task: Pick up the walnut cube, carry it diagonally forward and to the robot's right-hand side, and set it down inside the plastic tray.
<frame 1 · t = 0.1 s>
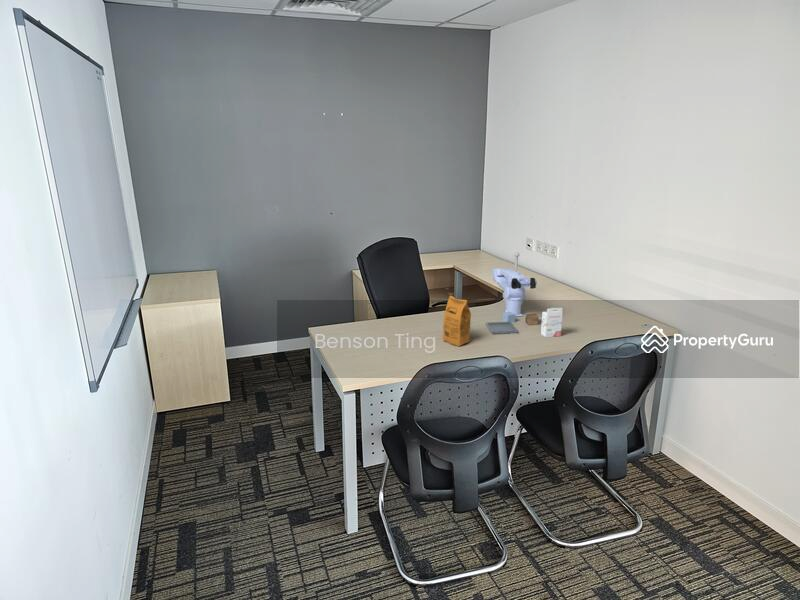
hand: (527, 286, 263), 22 cm above the table, tool horizontal, fingers open, 7 cm apart
flag stand: (513, 302, 309), on the table
walnut cube: (531, 323, 274), on the table
tray: (501, 329, 266), on the table
coffee package: (455, 341, 251), on the table
ink cartridge box: (550, 335, 259), on the table
slate blue block: (508, 321, 277), on the table
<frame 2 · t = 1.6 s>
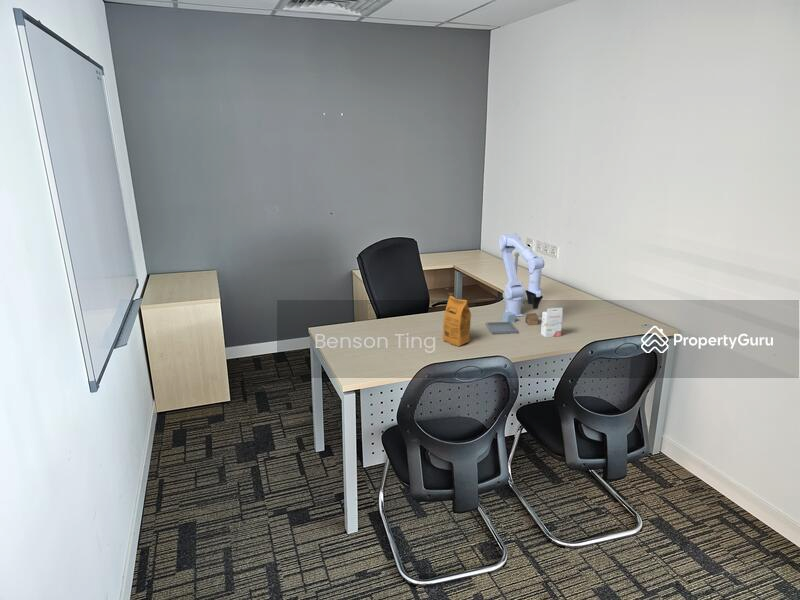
hand: (532, 306, 271), 9 cm above the table, tool pointing down, fingers open, 7 cm apart
nothing on the table moved.
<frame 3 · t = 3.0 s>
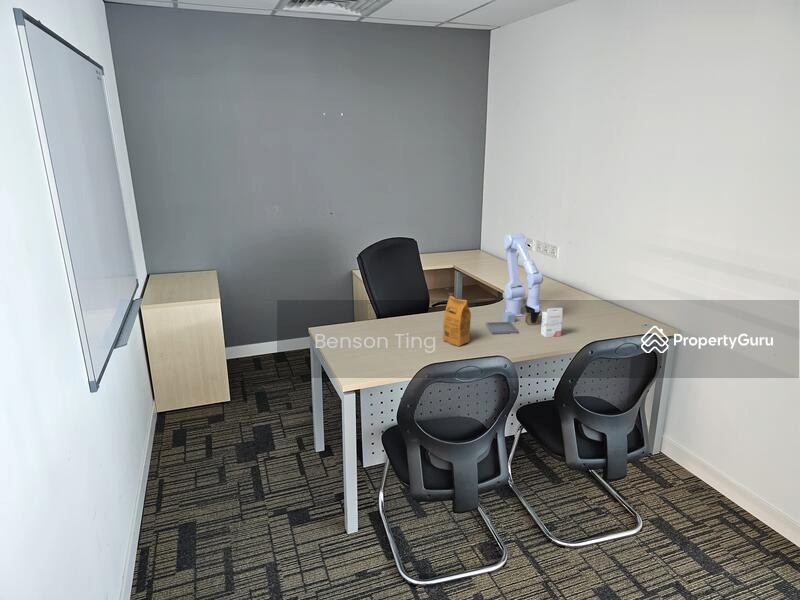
hand: (531, 320, 274), 1 cm above the table, tool pointing down, fingers closed on walnut cube, 5 cm apart
walnut cube: (531, 323, 274), on the table, touching gripper
everything else where it was.
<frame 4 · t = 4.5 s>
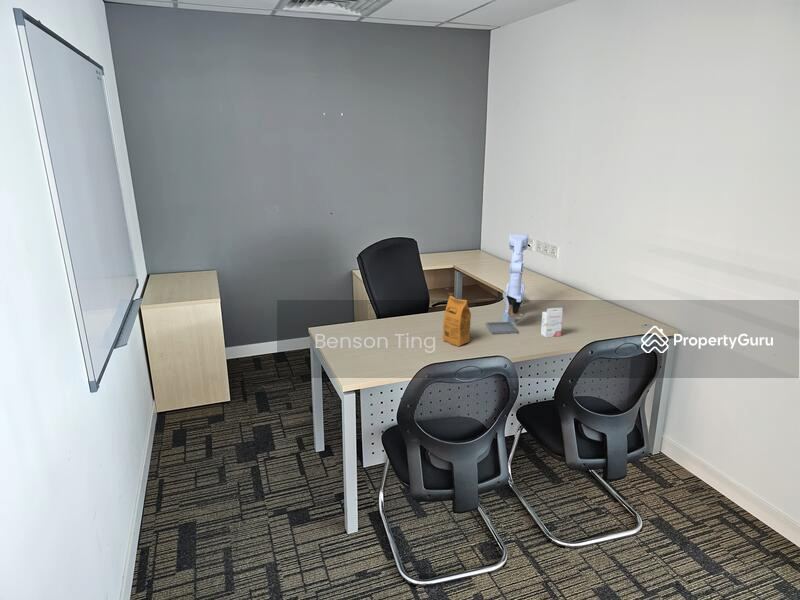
hand: (513, 311, 266), 9 cm above the table, tool pointing down, fingers closed on walnut cube, 5 cm apart
walnut cube: (514, 315, 267), point 6 cm above the table, touching gripper
everything else where it was.
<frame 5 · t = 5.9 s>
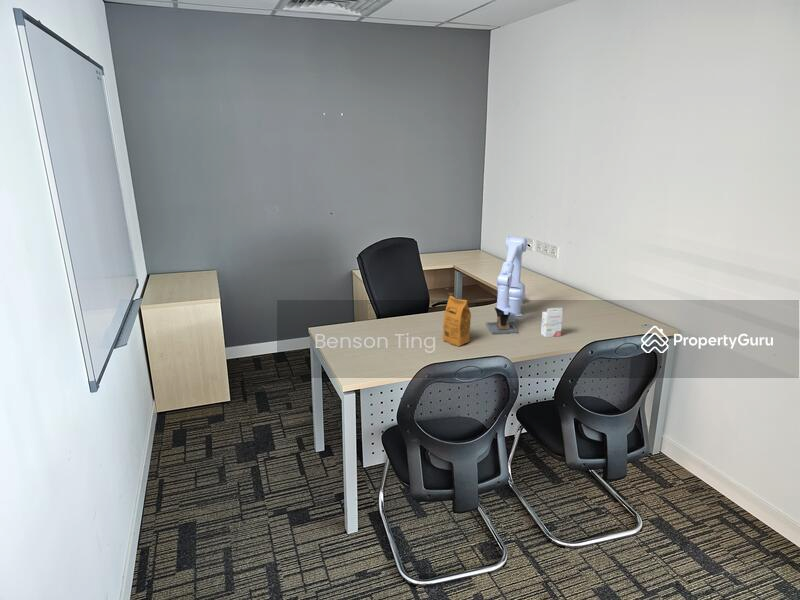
hand: (501, 323, 265), 3 cm above the table, tool pointing down, fingers closed on walnut cube, 5 cm apart
walnut cube: (502, 327, 266), point 1 cm above the table, touching gripper
everything else where it was.
when the fingers open (3 cm above the table, at t = 6.5 s): walnut cube stays where it is, resting on tray.
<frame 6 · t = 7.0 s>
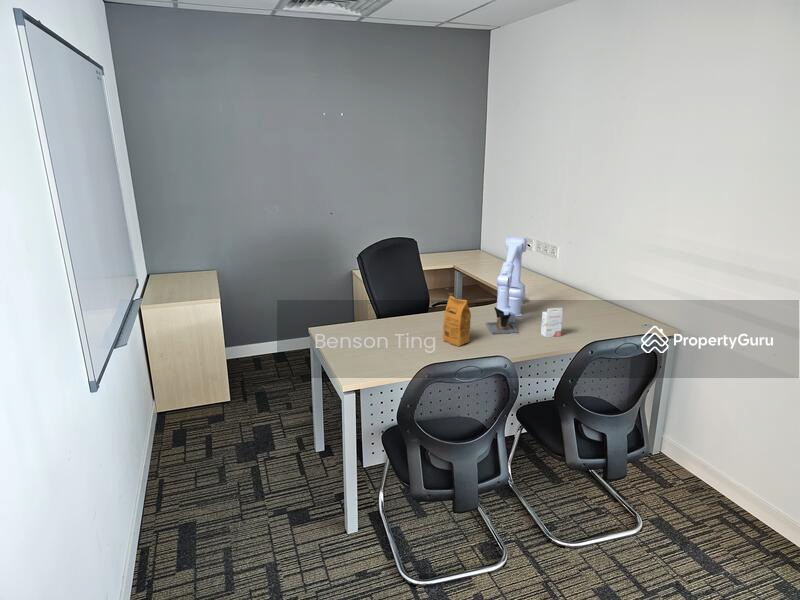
hand: (501, 323, 265), 3 cm above the table, tool pointing down, fingers open, 7 cm apart
walnut cube: (502, 328, 266), resting on tray
everything else where it was.
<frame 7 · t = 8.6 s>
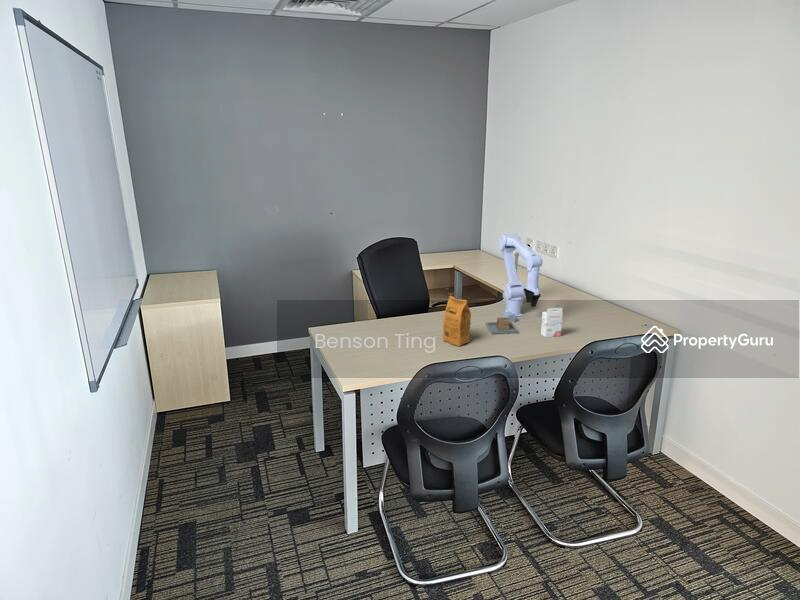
hand: (530, 304, 271), 10 cm above the table, tool pointing down, fingers open, 7 cm apart
nothing on the table moved.
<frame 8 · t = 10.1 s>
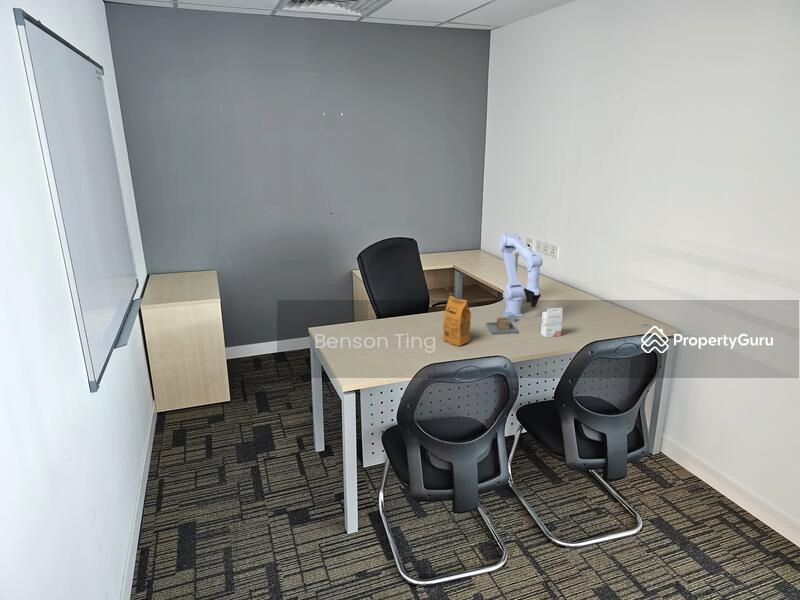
hand: (531, 304, 271), 10 cm above the table, tool pointing down, fingers open, 7 cm apart
nothing on the table moved.
at the end: walnut cube inside the target area on the tray (0.7 cm from its centre), point 0.5 cm above the tray's base; walnut cube tilted 0°; the gripper is holding nothing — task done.
